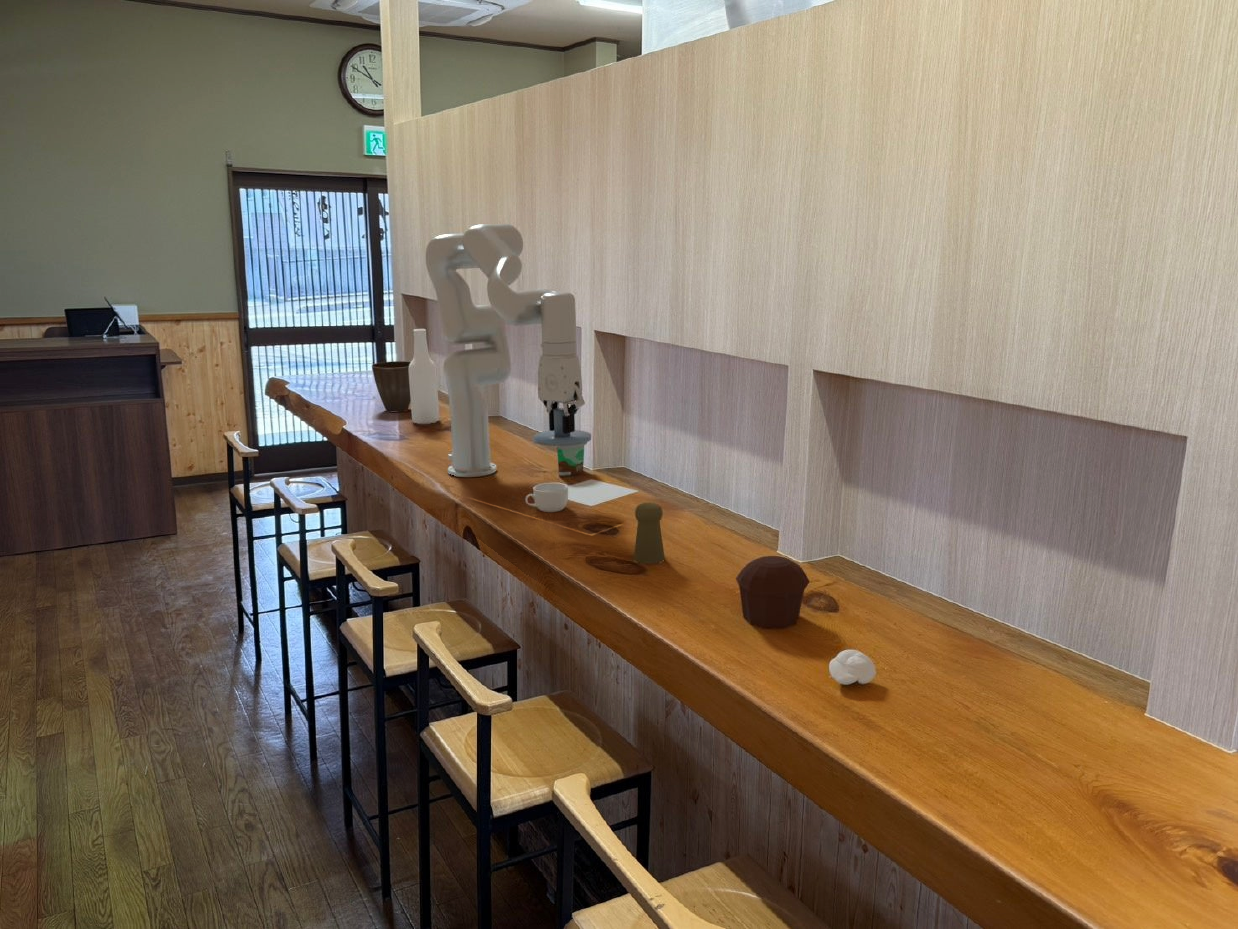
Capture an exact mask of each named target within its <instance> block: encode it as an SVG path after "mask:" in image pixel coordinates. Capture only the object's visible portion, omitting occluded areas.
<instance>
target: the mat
mask: <svg viewBox="0 0 1238 929" xmlns="http://www.w3.org/2000/svg"><path fill="white" fill-rule="evenodd" d="M638 492H640V491H639V490H636V489H632V488H630V487H629V488H628V487H624V486H622V485H621V486H620V485H616V484H611V483H608V482H604V481H600V480H597V479H591V478H590V479H587V480H584V481H581V482H577V483H574V484H570V485H568V501H570V502H574V503H577V504H582V505H585V506H589V507H593V506H597V505H599V504H600V505H601V504H604V503H607V502H609V501H612V500H616V499H619V498H622V497H623V498H624V497H626V496H629V495H632V494H635V493H638Z"/></svg>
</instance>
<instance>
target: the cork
mask: <svg viewBox="0 0 1238 929" xmlns="http://www.w3.org/2000/svg"><path fill="white" fill-rule="evenodd" d="M634 516H635V519H636V520H637V527H636V528H637V529H636V536H635V544H634V553H633V561H634V560H635V561H636V562H638V563H641V564H640V565H643V564H655V565H657V564H656V563H659V564H661V563H660V562H662V561H663V560H666V559H665V550H664V543H663V536H662V528H661V523H660V522H661V520H662V519H663V508H662V506H661V505H660V504H658V503H657V502H655V503H654V502H643V503H640V504H638V505H636V507H635V511H634ZM635 561H634V562H635ZM636 562H635V563H636ZM638 563H637V564H638ZM662 563H663V562H662Z"/></svg>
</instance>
